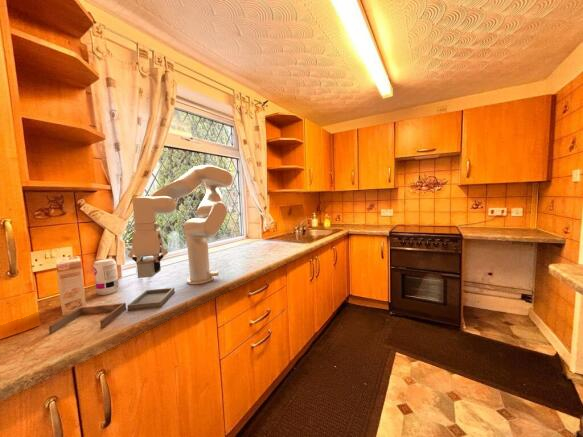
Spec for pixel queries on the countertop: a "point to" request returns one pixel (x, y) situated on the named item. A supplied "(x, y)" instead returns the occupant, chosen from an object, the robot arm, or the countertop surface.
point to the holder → (115, 309)
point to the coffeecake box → (70, 284)
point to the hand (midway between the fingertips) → (149, 271)
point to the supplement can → (106, 276)
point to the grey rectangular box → (146, 268)
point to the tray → (151, 299)
